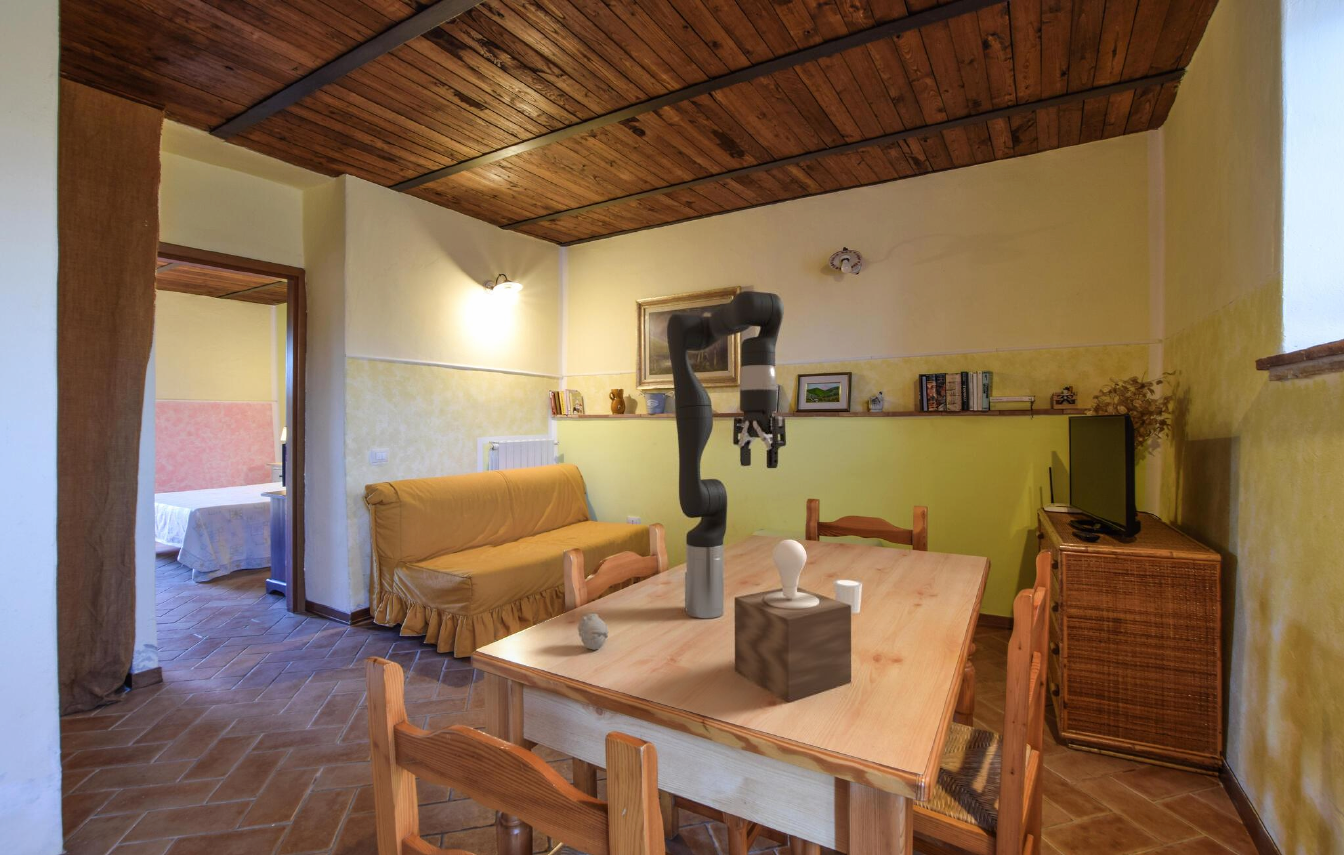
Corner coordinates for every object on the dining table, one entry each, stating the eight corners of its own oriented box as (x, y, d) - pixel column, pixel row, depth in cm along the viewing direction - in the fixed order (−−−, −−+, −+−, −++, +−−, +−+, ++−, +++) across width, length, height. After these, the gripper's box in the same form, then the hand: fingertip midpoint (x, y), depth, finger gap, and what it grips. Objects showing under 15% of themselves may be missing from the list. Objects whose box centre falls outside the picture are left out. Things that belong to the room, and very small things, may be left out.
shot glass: (865, 608, 149) (865, 581, 149) (858, 616, 143) (858, 587, 143) (838, 604, 152) (838, 577, 152) (830, 611, 147) (830, 583, 147)
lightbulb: (806, 604, 105) (806, 543, 105) (772, 603, 106) (772, 542, 106) (806, 595, 111) (806, 537, 111) (773, 593, 112) (773, 536, 112)
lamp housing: (734, 670, 111) (734, 595, 111) (795, 654, 119) (795, 583, 119) (788, 702, 98) (788, 617, 98) (852, 681, 106) (852, 602, 106)
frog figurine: (594, 640, 128) (594, 608, 127) (615, 648, 123) (615, 615, 123) (571, 648, 123) (571, 614, 123) (592, 657, 118) (591, 622, 118)
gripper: (795, 387, 117) (795, 468, 117) (751, 391, 129) (751, 464, 129) (766, 386, 113) (766, 470, 113) (723, 390, 125) (723, 465, 126)
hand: (758, 467), depth 121 cm, fingers open, 8 cm apart
